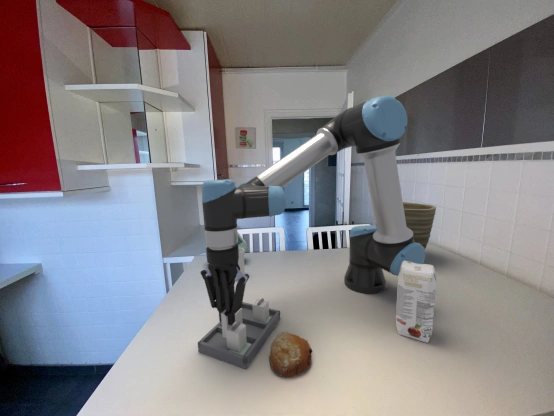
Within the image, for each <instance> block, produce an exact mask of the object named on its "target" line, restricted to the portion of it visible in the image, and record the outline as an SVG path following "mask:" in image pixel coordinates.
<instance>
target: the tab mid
mask: <svg viewBox="0 0 554 416" xmlns="http://www.w3.org/2000/svg"><path fill="white" fill-rule="evenodd" d="M235 322H240V324H243V321H242V308H240V309H239V310H238V311H237V312H236V313H235Z"/></svg>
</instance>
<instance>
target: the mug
mask: <svg viewBox="0 0 554 416" xmlns="http://www.w3.org/2000/svg"><path fill="white" fill-rule="evenodd" d="M238 249H239V260H238V265H239V267H240V271H241V272H242V273H243V274H244V275H245V274H246V273H245V254H244V249H243V248H238ZM236 280H237V276H236V278H235V281H236Z"/></svg>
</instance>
